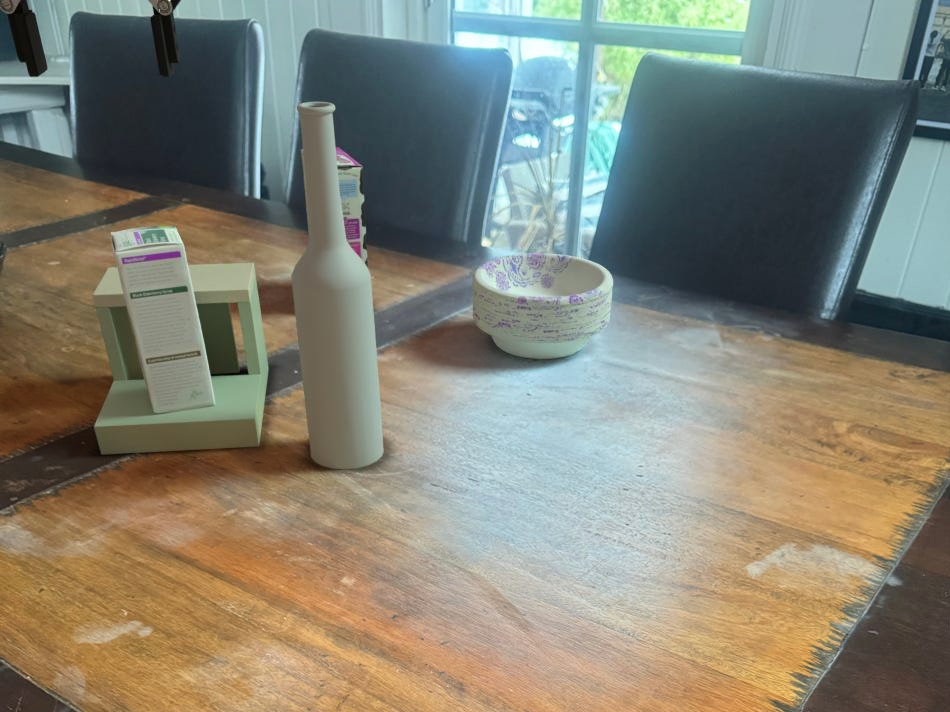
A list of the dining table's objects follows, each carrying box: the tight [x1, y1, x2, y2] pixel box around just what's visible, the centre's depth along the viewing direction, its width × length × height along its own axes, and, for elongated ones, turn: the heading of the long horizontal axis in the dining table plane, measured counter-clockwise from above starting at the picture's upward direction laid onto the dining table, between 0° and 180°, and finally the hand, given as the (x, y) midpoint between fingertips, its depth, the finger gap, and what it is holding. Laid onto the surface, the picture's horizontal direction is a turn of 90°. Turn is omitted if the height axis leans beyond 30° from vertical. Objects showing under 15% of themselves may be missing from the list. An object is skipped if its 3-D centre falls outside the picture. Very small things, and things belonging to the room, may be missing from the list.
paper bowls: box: [472, 252, 614, 360], centre depth 104 cm, size 15×15×8 cm
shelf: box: [92, 262, 270, 455], centre depth 89 cm, size 14×18×11 cm
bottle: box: [291, 101, 385, 470], centre depth 77 cm, size 7×7×28 cm
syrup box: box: [110, 225, 215, 413], centre depth 83 cm, size 6×6×14 cm
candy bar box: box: [300, 146, 369, 269], centre depth 112 cm, size 11×5×16 cm, turn 21°
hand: (103, 74), depth 73 cm, fingers open, 9 cm apart
